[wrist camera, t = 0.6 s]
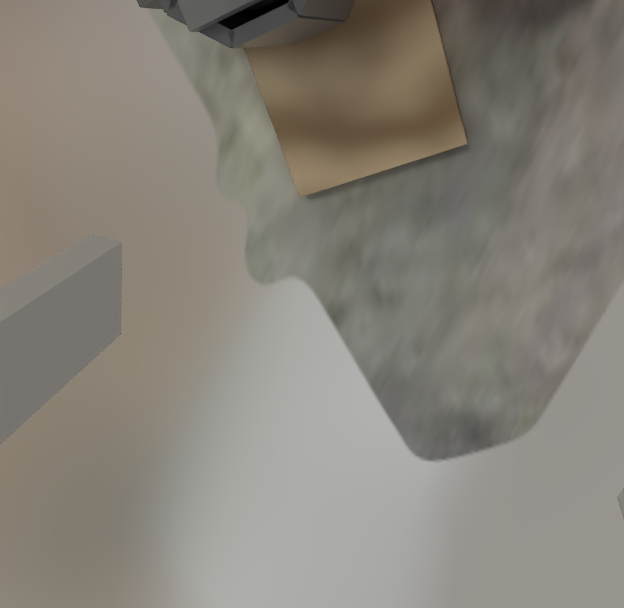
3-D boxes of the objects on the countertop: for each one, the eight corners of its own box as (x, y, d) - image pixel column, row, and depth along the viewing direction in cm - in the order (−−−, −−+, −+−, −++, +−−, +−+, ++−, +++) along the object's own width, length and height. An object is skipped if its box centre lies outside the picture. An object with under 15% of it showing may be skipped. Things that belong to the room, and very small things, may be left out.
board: (188, -118, 36) (180, -123, 35) (372, -233, 31) (368, -243, 30) (304, 193, 43) (300, 197, 42) (467, 140, 38) (467, 143, 37)
